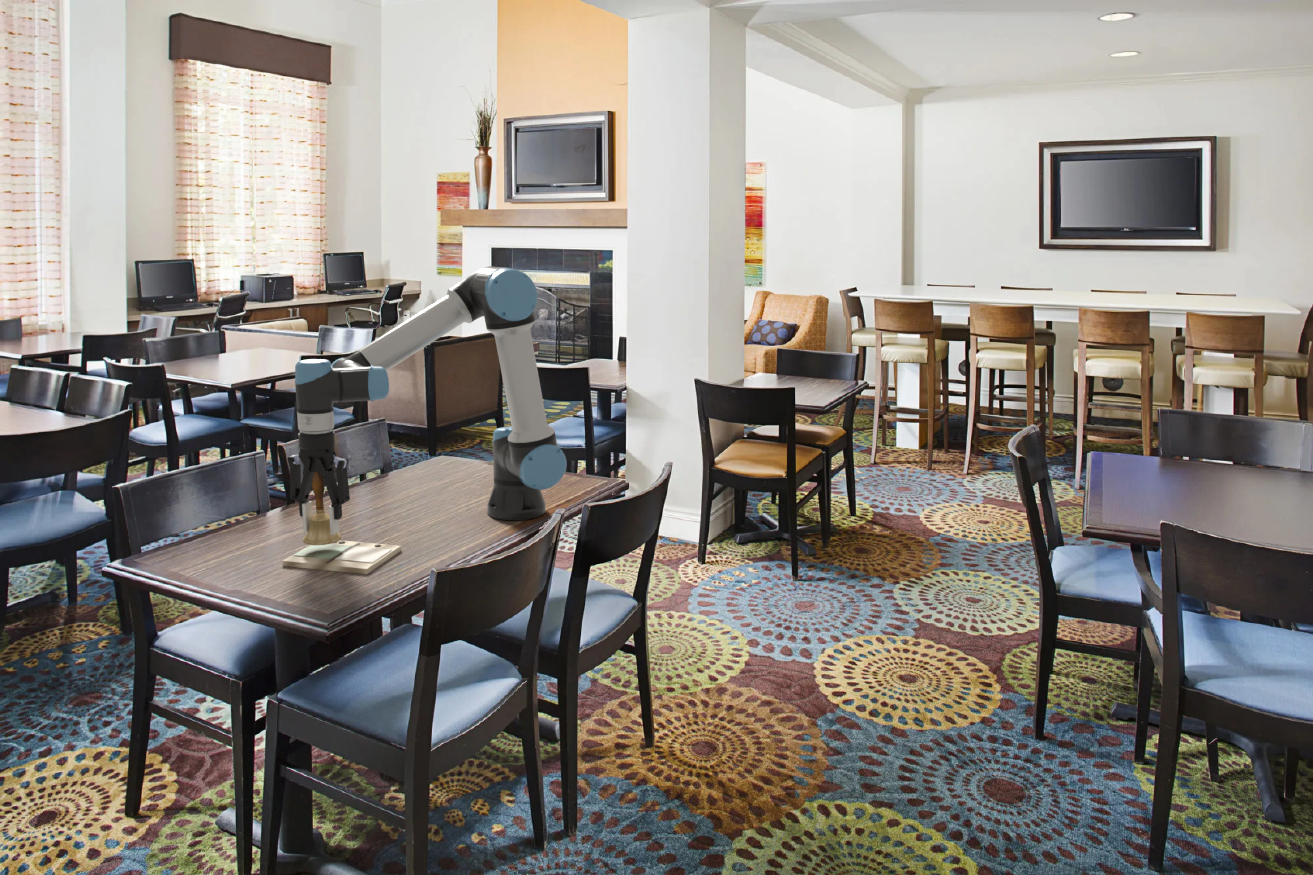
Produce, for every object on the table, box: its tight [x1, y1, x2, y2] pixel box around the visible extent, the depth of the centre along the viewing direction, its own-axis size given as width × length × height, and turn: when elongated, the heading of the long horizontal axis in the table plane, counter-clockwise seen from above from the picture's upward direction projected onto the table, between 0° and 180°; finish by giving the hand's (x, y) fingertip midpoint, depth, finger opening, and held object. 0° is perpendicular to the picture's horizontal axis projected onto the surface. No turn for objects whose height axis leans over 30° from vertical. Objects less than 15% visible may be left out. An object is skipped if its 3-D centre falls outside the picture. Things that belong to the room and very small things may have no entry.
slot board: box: [281, 539, 402, 575], centre depth 215 cm, size 20×16×1 cm
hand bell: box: [302, 472, 342, 546], centre depth 214 cm, size 8×8×16 cm
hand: (321, 531), depth 215 cm, fingers closed on hand bell, 6 cm apart
